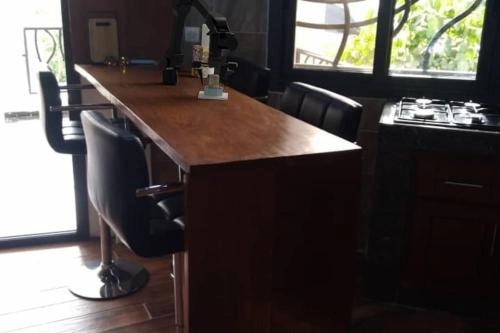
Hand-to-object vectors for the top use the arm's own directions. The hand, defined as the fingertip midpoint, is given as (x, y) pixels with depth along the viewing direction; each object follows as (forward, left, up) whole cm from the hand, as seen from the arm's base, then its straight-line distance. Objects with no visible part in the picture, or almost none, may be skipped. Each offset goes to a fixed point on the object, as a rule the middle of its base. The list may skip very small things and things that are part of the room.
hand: (213, 86), depth 230 cm
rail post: (0, 0, -4) cm, 4 cm away
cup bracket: (0, 0, -4) cm, 4 cm away
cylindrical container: (-6, +66, -5) cm, 66 cm away
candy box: (-9, +52, -5) cm, 53 cm away
